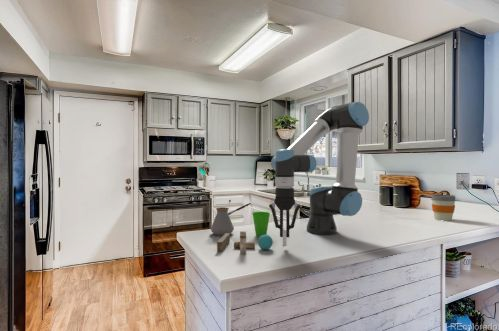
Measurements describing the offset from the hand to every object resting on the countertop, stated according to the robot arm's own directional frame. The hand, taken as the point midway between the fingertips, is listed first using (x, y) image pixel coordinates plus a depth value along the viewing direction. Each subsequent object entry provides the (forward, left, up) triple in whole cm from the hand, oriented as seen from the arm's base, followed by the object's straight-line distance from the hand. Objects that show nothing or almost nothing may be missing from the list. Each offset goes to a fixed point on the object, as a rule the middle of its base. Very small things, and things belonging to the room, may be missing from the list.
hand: (284, 245), depth 115 cm
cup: (+12, -21, -2) cm, 24 cm away
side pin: (+16, +7, -2) cm, 18 cm away
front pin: (+12, 0, -1) cm, 12 cm away
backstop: (+26, 0, -2) cm, 26 cm away
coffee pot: (+27, -23, -2) cm, 36 cm away
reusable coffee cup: (-96, -76, -2) cm, 122 cm away
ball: (+8, +1, +1) cm, 8 cm away
